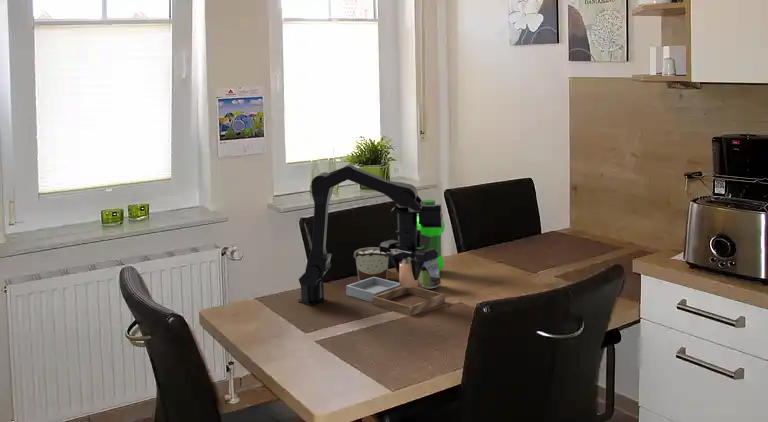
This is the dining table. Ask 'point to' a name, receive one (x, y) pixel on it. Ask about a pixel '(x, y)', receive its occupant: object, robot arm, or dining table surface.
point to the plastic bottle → (433, 236)
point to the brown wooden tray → (385, 302)
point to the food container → (371, 263)
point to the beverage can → (430, 274)
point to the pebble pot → (406, 274)
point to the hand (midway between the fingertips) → (408, 278)
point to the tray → (370, 288)
